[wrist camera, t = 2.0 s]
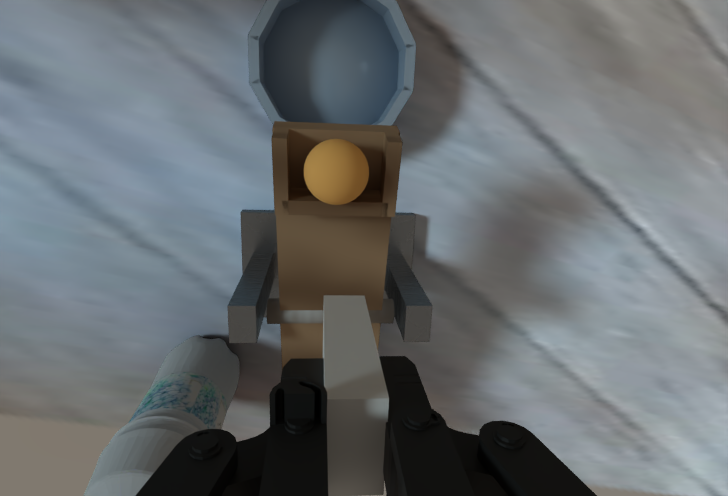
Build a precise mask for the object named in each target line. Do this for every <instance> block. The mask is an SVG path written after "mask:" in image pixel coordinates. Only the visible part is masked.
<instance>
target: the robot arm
mask: <svg viewBox="0 0 728 496" xmlns="http://www.w3.org/2000/svg"><path fill="white" fill-rule="evenodd" d="M384 481H385V486H386V492H387V496H597V495H595V493H594V492H592V491H591V490H590V489H589V488H588V487H587V486H586V485H585V484H584V483H583V482H582V481H581V480H580V479H579V478H578V477H577V476H576V475H575V474H574V473H573V472H572V471H571V470H570V469H569V468H568V467H567V466H566V465H565V464H564V463H563V462H561V461H560V460H559V459H558V458H557V457H556V456H555V455H554V454H553V453H552V452H551V451H550V450H549V449H548V448H547V447H546V446H545V445H544V444H543V443H542V442H541V441H540V440H539V439H538V438H537V437H536V436H535V435H534V434H533V433H531V432H530V431H528V430H527V429H526V428H524V427H522V426H520V425H517V424H515V423H512V422H507V421H492V422H489V423H486V424H484V425H483V427H482V428H481V429H480V433H479V436H478V435H473V434H468V433H463V432H459V431H456V430H453V429H451V428H449V427H447V425H446V422H445V420H444V419H443V418H442V416H441V415H440V414H439V413H437V412H436V411H434V410H433V409H431V406H430V403H429V401H428V398H427V395H426V393H425V390H424V387H423V385H422V382H421V379H420V377H419V374H418V372H417V369H416V366H415V364H414V363H412V362H411V361H410V360H409V359H408V358H407V357H405V356H382V357H379V354H378V350H377V346H376V342H375V337H374V333H373V329H372V325H371V321H370V316H369V312H368V308H367V304H366V300H365V296H357V295H324V306H323V358H293V359H290V360H289V361H288V362H287V363H286V365H285V366H284V367H283V370H282V376H281V383H279V384H278V385H276V386H275V387H274V388H273V389H272V391H271V393H270V428H269V429H267V430H266V431H265V432H264V433H262V434H260V435H258V436H256V437H253V438H250V439H247V440H243V441H239V442H236V439H235V437H234V436H233V435H232V434H231V433H229V432H228V431H224V430H221V429H205V430H201V431H197V432H194V433H192V434H190V435H188V436H186V437H185V438H183V439H182V440H181V441H180V442H179V443H178V444H177V445H176V446H175V447H174V449H173V450H172V451H171V452H170V454H169V455H168V456H167V457H166V458H165V460H164V461H163V462H162V463H161V465H160V466H159V467H158V468H157V470H156V471H155V472H154V473H153V475H152V476H151V477H150V478H149V480H148V481H147V482H146V483H145V484H144V486H143V487H142V488H141V489H140V491H139V492H138V493H137V494H136V496H358V495H383V492H384Z"/></svg>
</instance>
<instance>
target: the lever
mask: <svg viewBox="0 0 728 496" xmlns="http://www.w3.org/2000/svg"><path fill="white" fill-rule="evenodd" d="M329 139H343V140H347V141H349V142H351V143H353V144H354V145H356V146H357V147H358V148H359V149H360V150H361V151H362V152H363V154H364V155H365V157H366V160H367V162H368V166H369V178H368V182H367V185H366V187H365V189H364V190H363V192H362V193H361V194H360V195H359V196H358V197H357V198H356V199H354V200H353V201H351V202H349V203H346V204H341V205H332V204H327V203H325V202H322V201H320V200H319V199H317V198H316V197H315V196H314V195H313V194H312V193H311V192H310V190H309V189H308V187H307V185H306V182H305V179H304V164H305V161H306V158H307V156H308V154H309V153H310V151H311V150H312V149H313V148H314V147H315V146H316V145H318V144H319V143H321V142H323V141H326V140H329ZM401 152H402V140H401V138H400V132H399V130H398V128H397V126H389V125H363V124H336V123H310V122H284V121H274V125H273V135H272V160H273V184H274V208H275V215H276V227H277V252H278V277H279V298H268V301H267V324H280V327H281V351H282V370H283V367H284V366H285V365H286V363H287V362H288V361H289V360H290V359H293V358H323V306H324V295H357V296H365V300H366V304H367V308H368V312H369V316H370V321H371V325H372V329H373V333H374V337H375V342H376V346H377V350H378V344H379V334H380V324H381V323H393V322H394V301H393V299H383V294H384V285H385V275H386V265H387V255H388V245H389V235H390V225H391V217H395V210H396V200H397V190H398V181H399V171H400V162H401Z"/></svg>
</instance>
